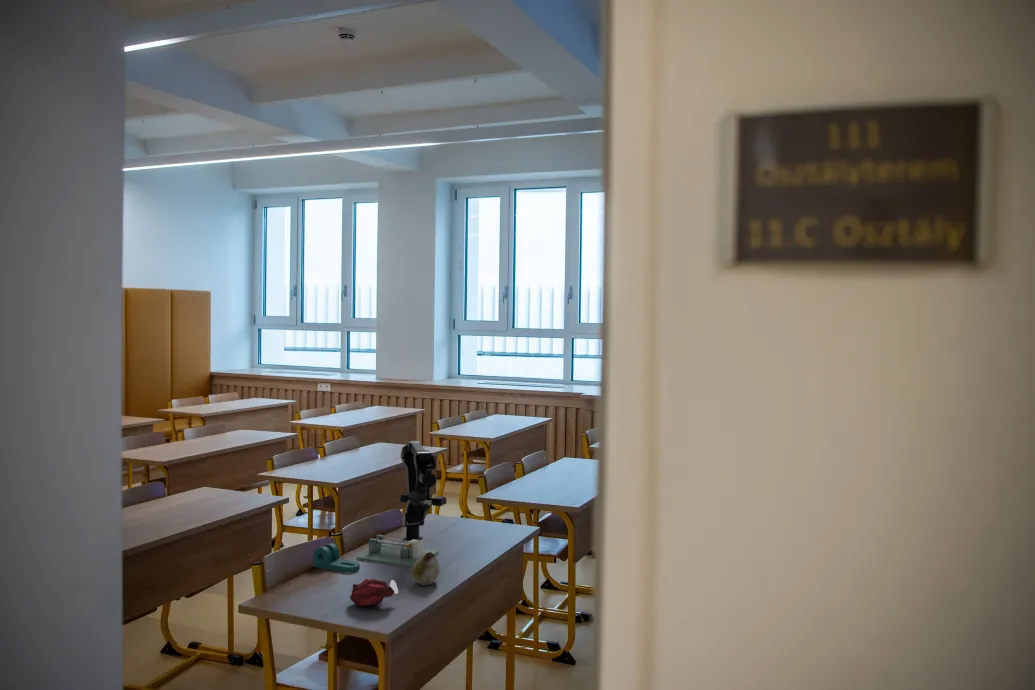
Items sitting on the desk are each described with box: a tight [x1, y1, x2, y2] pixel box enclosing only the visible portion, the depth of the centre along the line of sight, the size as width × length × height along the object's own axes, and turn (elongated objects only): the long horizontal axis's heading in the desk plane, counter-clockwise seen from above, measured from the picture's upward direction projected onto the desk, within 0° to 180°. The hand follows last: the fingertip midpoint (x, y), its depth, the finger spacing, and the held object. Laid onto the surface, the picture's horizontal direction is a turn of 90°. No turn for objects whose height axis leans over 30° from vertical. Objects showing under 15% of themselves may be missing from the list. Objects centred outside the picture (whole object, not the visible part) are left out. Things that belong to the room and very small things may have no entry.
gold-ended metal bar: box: [377, 538, 413, 548], centre depth 293 cm, size 4×18×2 cm, turn 70°
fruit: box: [411, 552, 440, 586], centre depth 262 cm, size 10×9×12 cm
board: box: [355, 548, 440, 569], centre depth 293 cm, size 20×26×1 cm
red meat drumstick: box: [349, 578, 399, 607], centre depth 241 cm, size 15×13×9 cm
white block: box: [408, 539, 425, 559], centre depth 290 cm, size 5×4×6 cm
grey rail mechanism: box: [368, 534, 412, 559], centre depth 293 cm, size 11×18×6 cm, turn 70°
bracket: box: [312, 542, 361, 573], centre depth 278 cm, size 18×7×8 cm, turn 66°
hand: (422, 520), depth 299 cm, fingers closed
